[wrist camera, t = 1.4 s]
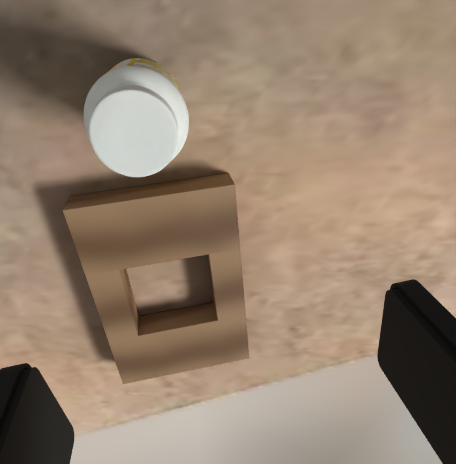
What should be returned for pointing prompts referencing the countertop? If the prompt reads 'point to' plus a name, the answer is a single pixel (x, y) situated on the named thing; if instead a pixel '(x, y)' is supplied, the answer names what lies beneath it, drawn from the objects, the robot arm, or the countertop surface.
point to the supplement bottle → (136, 118)
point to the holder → (156, 251)
